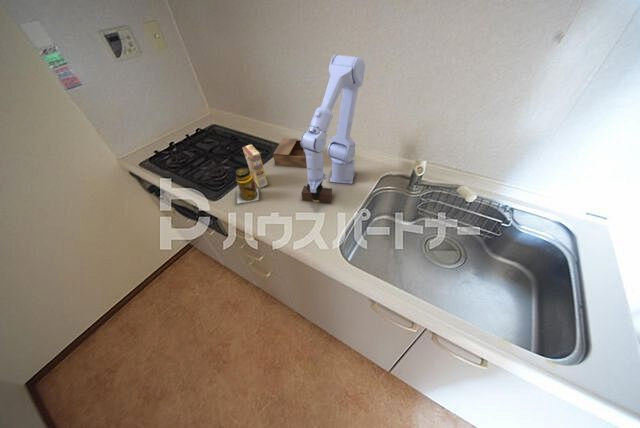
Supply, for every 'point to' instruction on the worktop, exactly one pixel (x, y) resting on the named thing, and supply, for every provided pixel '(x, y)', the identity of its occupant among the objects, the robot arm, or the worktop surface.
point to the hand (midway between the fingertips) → (317, 195)
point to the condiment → (246, 186)
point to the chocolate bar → (324, 197)
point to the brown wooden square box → (290, 154)
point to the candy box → (255, 165)
